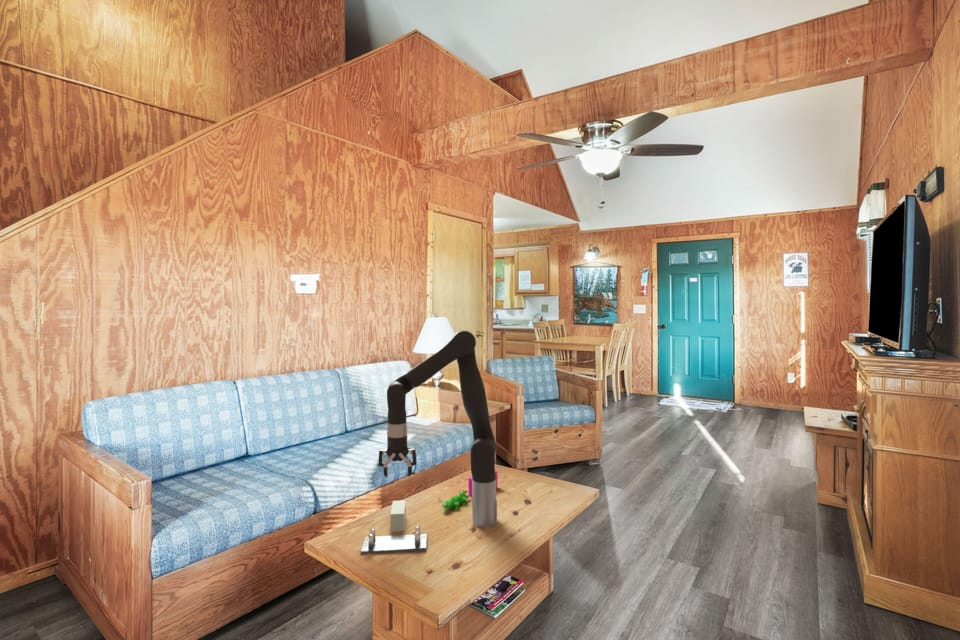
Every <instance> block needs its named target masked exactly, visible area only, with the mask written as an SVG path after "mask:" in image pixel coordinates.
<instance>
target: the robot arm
mask: <svg viewBox="0 0 960 640" xmlns="http://www.w3.org/2000/svg"><path fill="white" fill-rule="evenodd" d="M454 333H455V332H454ZM476 345H477V340H476V338H475V336H474V335H473V333H472V332H470V331H468V330H459V331H457V332H456V333H455V334H453V336H452V337H451V339H450V340H449V342H447V343H446V344H445V345H444V346H443V347H442V348H441V349H440V350H438V351H437V352H435V353H434V354H432V355H430V356H429V357H427V358H426V359H424V360H423V361H421V362H420V363H418V364H416V365H415V366H414V367H412V368H411V369H409V370H408V371H407V372H406V373H405V374H403V375H401V376H400V377H397V378H396V379H395V380H393V381H392V382H391V383H390V384H389V385H388V388H387V390H386V401H387V426H386V429H387V430H386V435H387V436H386V437H387V439H386V441H387V444H386V445H387V448H386V449H382V448H380V449H379V451H378V466H379V467H382V468H383V476H384V477H385V478H388V476H389V469H388V467H389V466H388V465H389V464H390V463H391V461H392V462H402V461H403V462H404V463H405V464H406V465H407V477H411V475H413V466H416V465H417V450H416V448H415V447H413V448H409V447H408V423H407V409H406V401H407V400H406V398H407V397H406V396H407V394H409V393H410V392H411V391H412V390H414V389H415V388H418V387H420V386H422V385H423V384H424V383H426V382H427V381H429V380H430V379H431V378H432V377H434V376H435V375H436V374H438V373H439V372H441V370H443V369H444V368H445V367H447V365H450V364H451V363H453V362H454V361H456V362H457V365H458V366H457V367H458V374H459V386H460V387H459V388H460V394H461V399H462V403H463V404H462V405H463V408H464V411H465V413H466V416H467V417H468V419H469V422H470V423H471V428H472V434H473V435H472V436H473V444H472V445H471V448H470V473H471V477H472V496H471V499H472V500H471V501H472V502H471V503H472V504H471V505H472V512H471V513H472V517H471V518H472V525H474V526H475V527H478V528H481V529H483V528H484V529H486V528H488V529H489V528H492V527H494V525H495V526H498V500H497V488H496V472H495V471H496V469H495V468H496V463H495V462H496V460H495V457H496V453H497V442H496V438H495V437H494V433H493V428H492V427H491V423H490V422H491V421H490V415H489V406H488V401H487V393H486V389H485V385H484V381H483V377H482V375H481V372H480V370H479V367H478V364H477V358H476ZM409 453H410V455H411V456H412V461H411V460H410V459H409V456H408V455H409ZM385 455H387V456H388V457H387V459H386V460H385V462H384V461H383V460H384V459H383V458H384V456H385Z"/></svg>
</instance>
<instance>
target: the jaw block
mask: <svg viewBox="0 0 960 640" xmlns="http://www.w3.org/2000/svg"><path fill="white" fill-rule="evenodd" d="M406 502H407V501H406V499H405V500H403V499H402V500H392V504H391V510H390V517H389V518H390V520H389V521H390V532H391V533H395V532H397V533H398V532H405V530H406V520H407V503H406Z"/></svg>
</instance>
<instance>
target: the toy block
mask: <svg viewBox="0 0 960 640" xmlns="http://www.w3.org/2000/svg"><path fill="white" fill-rule="evenodd" d="M495 472H496V487H497V488H498V471H497V470H495ZM468 495H470V496H471V497H472V476H471V477H468ZM470 496H469V497H470Z"/></svg>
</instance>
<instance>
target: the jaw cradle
mask: <svg viewBox="0 0 960 640" xmlns="http://www.w3.org/2000/svg"><path fill="white" fill-rule="evenodd" d="M414 527H415V529H414V531H415V532H414V534H399V535H397V534H396V535H380V536H379V535H377V536H376V528H375V527H371V528H369V534H368V536H365V537H364V540H363V543H362V546H361V550H360V555H365V554H367V555H368V553H370V554H371V553H372V554H393V553H394V554H396V553H419V552H427V544H428V539H427V538H428V536H427V535H428V534H427V533H421V526H420V525H416V526H414ZM363 553H364V554H363ZM370 554H369V555H370Z"/></svg>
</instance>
